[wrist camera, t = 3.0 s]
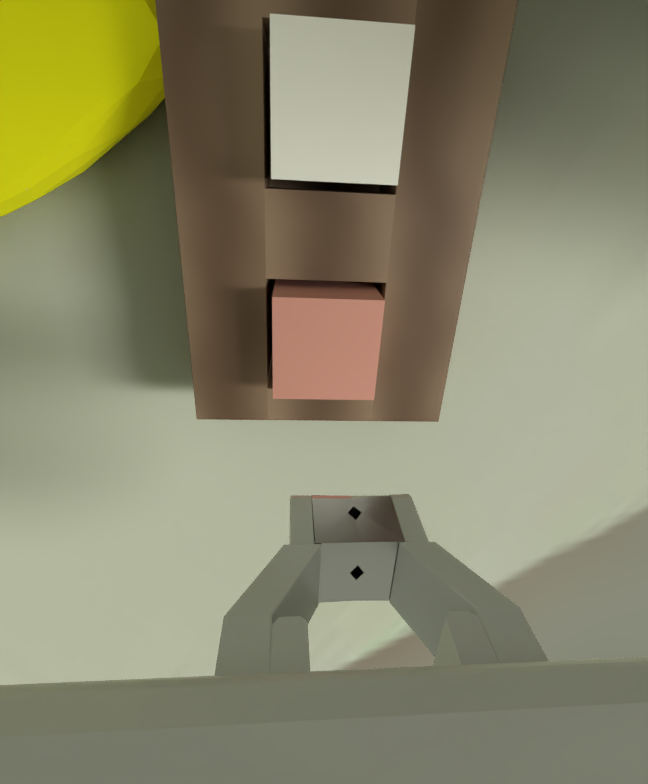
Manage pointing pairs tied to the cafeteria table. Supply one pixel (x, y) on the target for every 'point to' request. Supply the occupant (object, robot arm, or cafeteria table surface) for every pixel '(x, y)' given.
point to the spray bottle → (71, 87)
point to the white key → (338, 98)
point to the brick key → (325, 339)
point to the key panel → (325, 199)
